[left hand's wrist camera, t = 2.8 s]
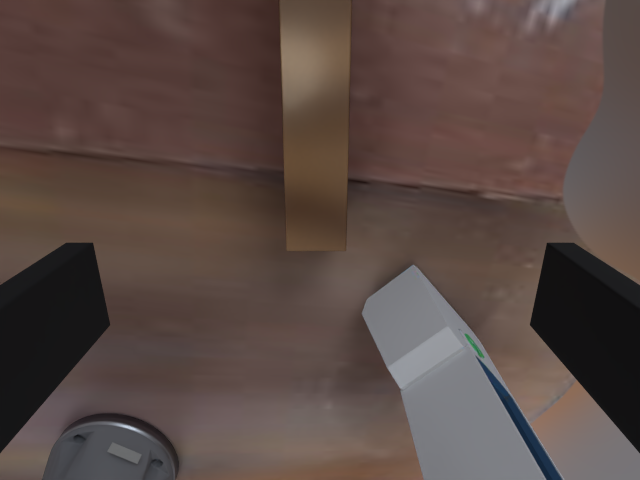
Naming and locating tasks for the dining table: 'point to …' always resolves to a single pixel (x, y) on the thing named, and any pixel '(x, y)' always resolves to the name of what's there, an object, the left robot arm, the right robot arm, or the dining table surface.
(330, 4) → the beam
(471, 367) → the electronic device
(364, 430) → the dining table surface
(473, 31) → the dining table surface
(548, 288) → the left robot arm
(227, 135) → the dining table surface
